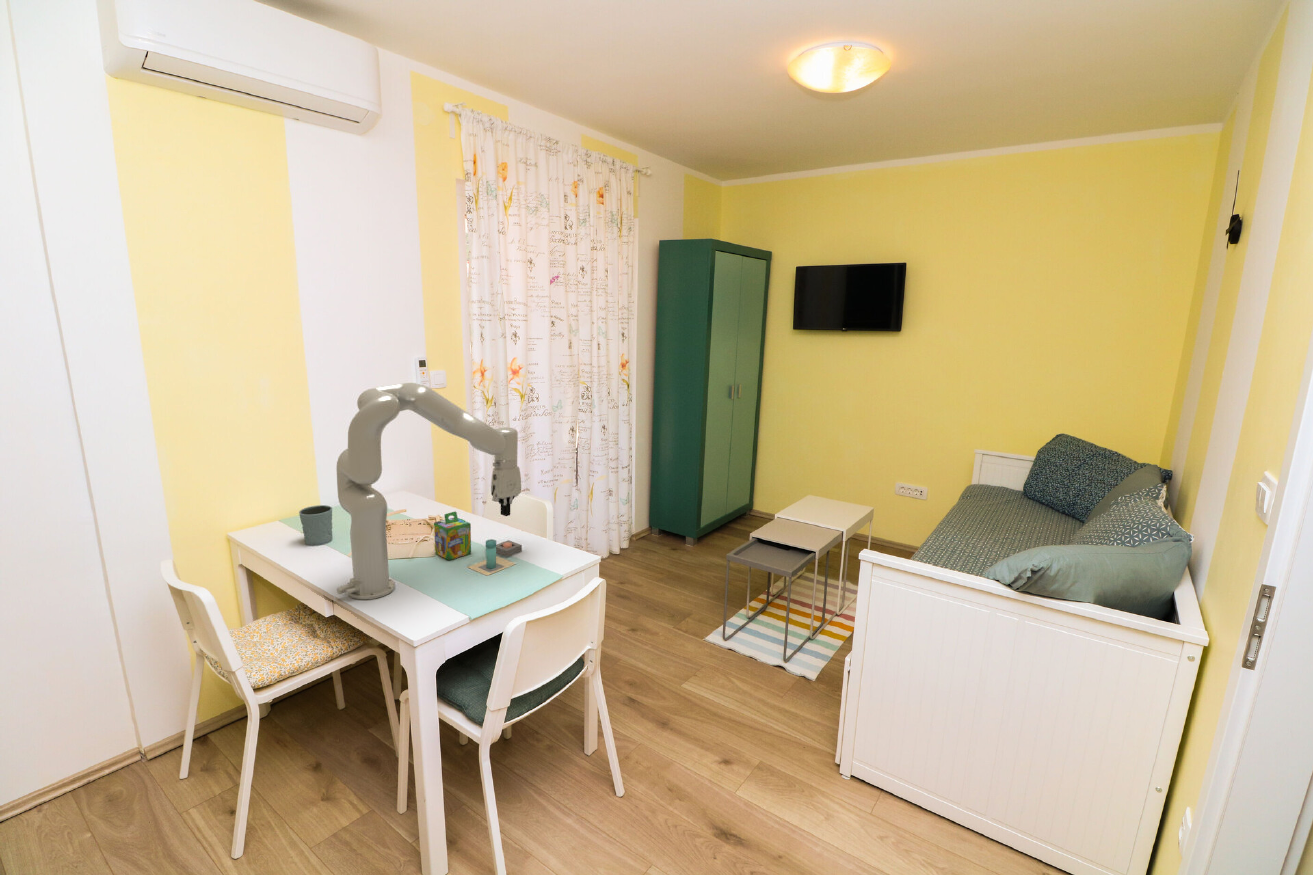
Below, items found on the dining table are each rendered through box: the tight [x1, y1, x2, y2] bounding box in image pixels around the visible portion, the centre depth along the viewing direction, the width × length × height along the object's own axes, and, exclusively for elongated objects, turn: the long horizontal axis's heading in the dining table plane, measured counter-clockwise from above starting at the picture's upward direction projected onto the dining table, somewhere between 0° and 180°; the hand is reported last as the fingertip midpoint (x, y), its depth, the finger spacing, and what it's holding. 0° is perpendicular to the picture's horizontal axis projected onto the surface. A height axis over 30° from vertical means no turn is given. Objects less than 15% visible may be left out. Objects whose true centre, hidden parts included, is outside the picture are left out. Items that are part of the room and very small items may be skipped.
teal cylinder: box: [485, 539, 497, 569], centre depth 193 cm, size 3×3×9 cm
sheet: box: [466, 555, 516, 577], centre depth 196 cm, size 12×10×1 cm
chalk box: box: [433, 511, 472, 561], centre depth 203 cm, size 9×9×15 cm
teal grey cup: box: [298, 504, 333, 547], centre depth 209 cm, size 10×10×12 cm
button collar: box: [496, 539, 523, 559], centre depth 207 cm, size 7×7×2 cm
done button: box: [503, 542, 512, 548], centre depth 207 cm, size 3×3×3 cm
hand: (505, 514), depth 204 cm, fingers closed
